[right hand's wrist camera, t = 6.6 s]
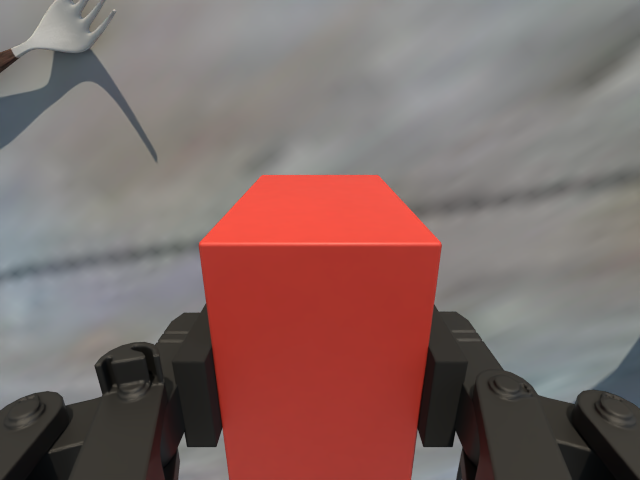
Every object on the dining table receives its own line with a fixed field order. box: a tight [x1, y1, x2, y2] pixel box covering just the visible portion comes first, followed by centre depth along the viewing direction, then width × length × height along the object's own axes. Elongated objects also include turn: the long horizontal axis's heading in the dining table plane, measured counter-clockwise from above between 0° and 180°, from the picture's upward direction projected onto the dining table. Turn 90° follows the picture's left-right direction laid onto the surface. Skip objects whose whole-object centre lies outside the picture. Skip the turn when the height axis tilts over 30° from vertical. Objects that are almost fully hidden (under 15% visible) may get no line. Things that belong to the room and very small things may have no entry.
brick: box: [199, 175, 442, 480], centre depth 13 cm, size 5×8×9 cm
